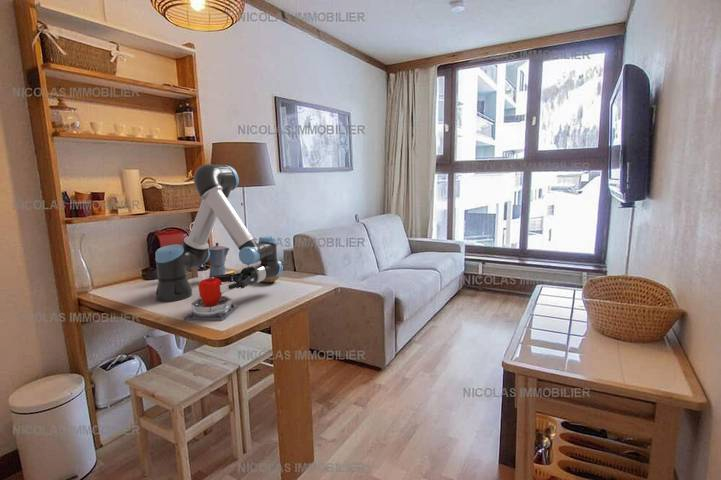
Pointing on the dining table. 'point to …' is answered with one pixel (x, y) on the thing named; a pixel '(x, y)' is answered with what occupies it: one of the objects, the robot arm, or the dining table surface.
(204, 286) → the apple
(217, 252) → the moka pot
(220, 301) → the rosette stand
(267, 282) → the potato
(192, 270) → the wooden block
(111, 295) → the dining table surface
